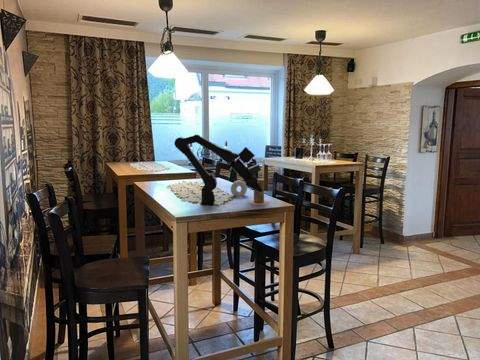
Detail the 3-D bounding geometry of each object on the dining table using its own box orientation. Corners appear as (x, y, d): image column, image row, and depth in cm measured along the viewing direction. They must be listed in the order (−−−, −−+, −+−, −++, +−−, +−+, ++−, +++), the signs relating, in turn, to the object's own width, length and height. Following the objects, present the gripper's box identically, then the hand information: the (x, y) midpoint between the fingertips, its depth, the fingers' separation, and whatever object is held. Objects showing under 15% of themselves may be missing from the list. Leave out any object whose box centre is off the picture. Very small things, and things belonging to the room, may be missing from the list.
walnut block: (254, 202, 201) (254, 180, 199) (253, 200, 206) (254, 178, 204) (263, 202, 201) (264, 180, 199) (263, 201, 206) (263, 178, 204)
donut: (245, 196, 225) (245, 179, 224) (247, 197, 222) (248, 180, 221) (229, 197, 221) (229, 180, 220) (232, 198, 218) (232, 181, 217)
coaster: (248, 206, 197) (248, 204, 197) (246, 201, 209) (246, 200, 209) (271, 206, 198) (271, 204, 198) (268, 201, 210) (268, 200, 210)
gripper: (253, 160, 191) (274, 182, 193) (251, 157, 209) (271, 177, 211) (236, 175, 192) (258, 198, 194) (236, 171, 210) (256, 191, 212)
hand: (261, 190), depth 203 cm, fingers closed on walnut block, 5 cm apart
